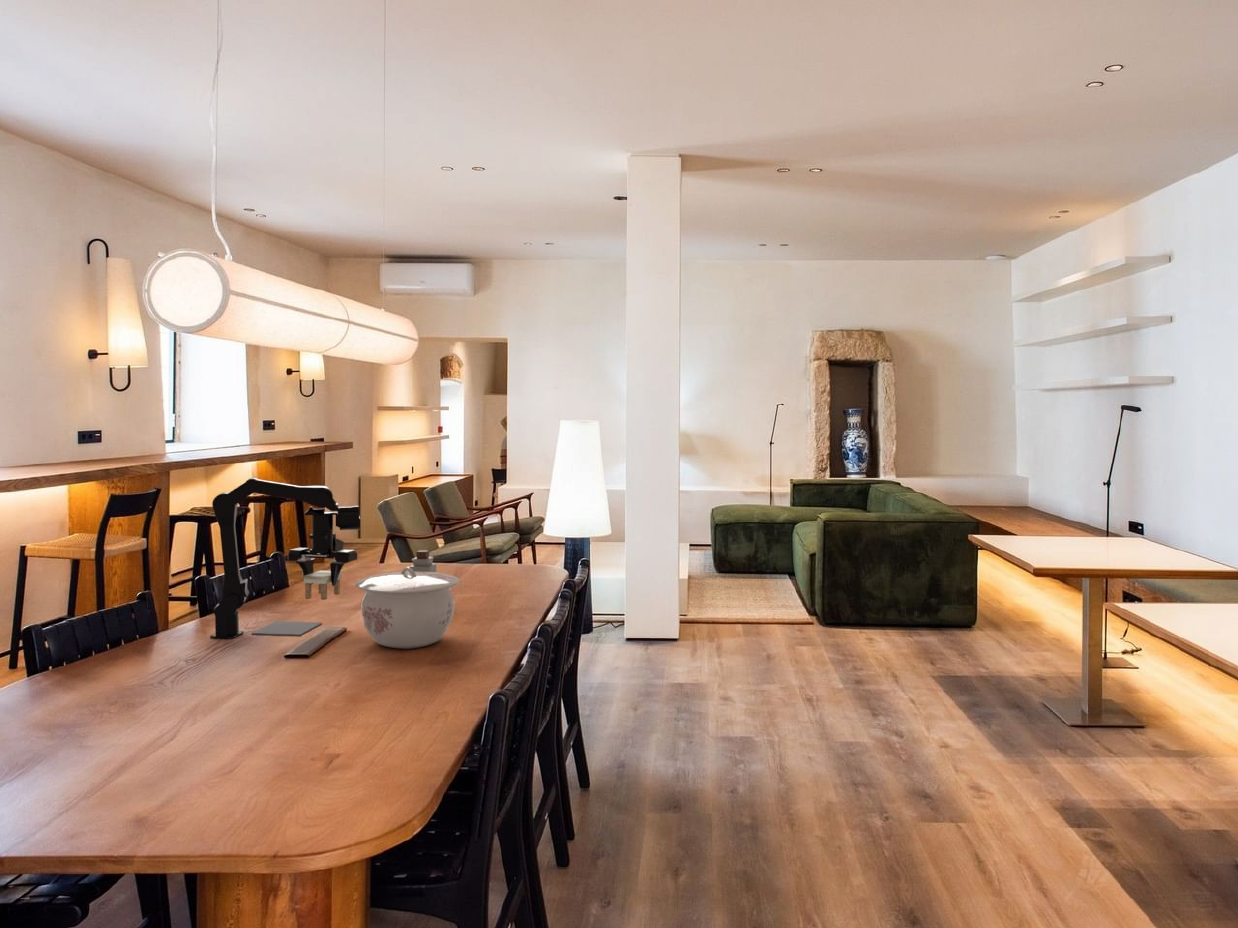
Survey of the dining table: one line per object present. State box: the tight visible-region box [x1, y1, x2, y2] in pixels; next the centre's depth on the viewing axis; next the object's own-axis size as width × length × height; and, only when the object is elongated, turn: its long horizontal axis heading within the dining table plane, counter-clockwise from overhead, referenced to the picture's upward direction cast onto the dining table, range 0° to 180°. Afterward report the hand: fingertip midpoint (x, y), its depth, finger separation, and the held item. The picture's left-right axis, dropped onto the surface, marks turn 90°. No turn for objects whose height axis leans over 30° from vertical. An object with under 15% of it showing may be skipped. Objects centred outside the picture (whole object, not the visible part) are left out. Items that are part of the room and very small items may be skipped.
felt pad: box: [251, 620, 323, 637], centre depth 246 cm, size 14×14×1 cm
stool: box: [303, 570, 342, 601], centre depth 245 cm, size 9×6×6 cm
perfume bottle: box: [408, 549, 437, 572], centre depth 276 cm, size 7×7×18 cm
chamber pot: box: [355, 566, 461, 650], centre depth 232 cm, size 28×28×21 cm
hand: (322, 585), depth 245 cm, fingers closed on stool, 6 cm apart
